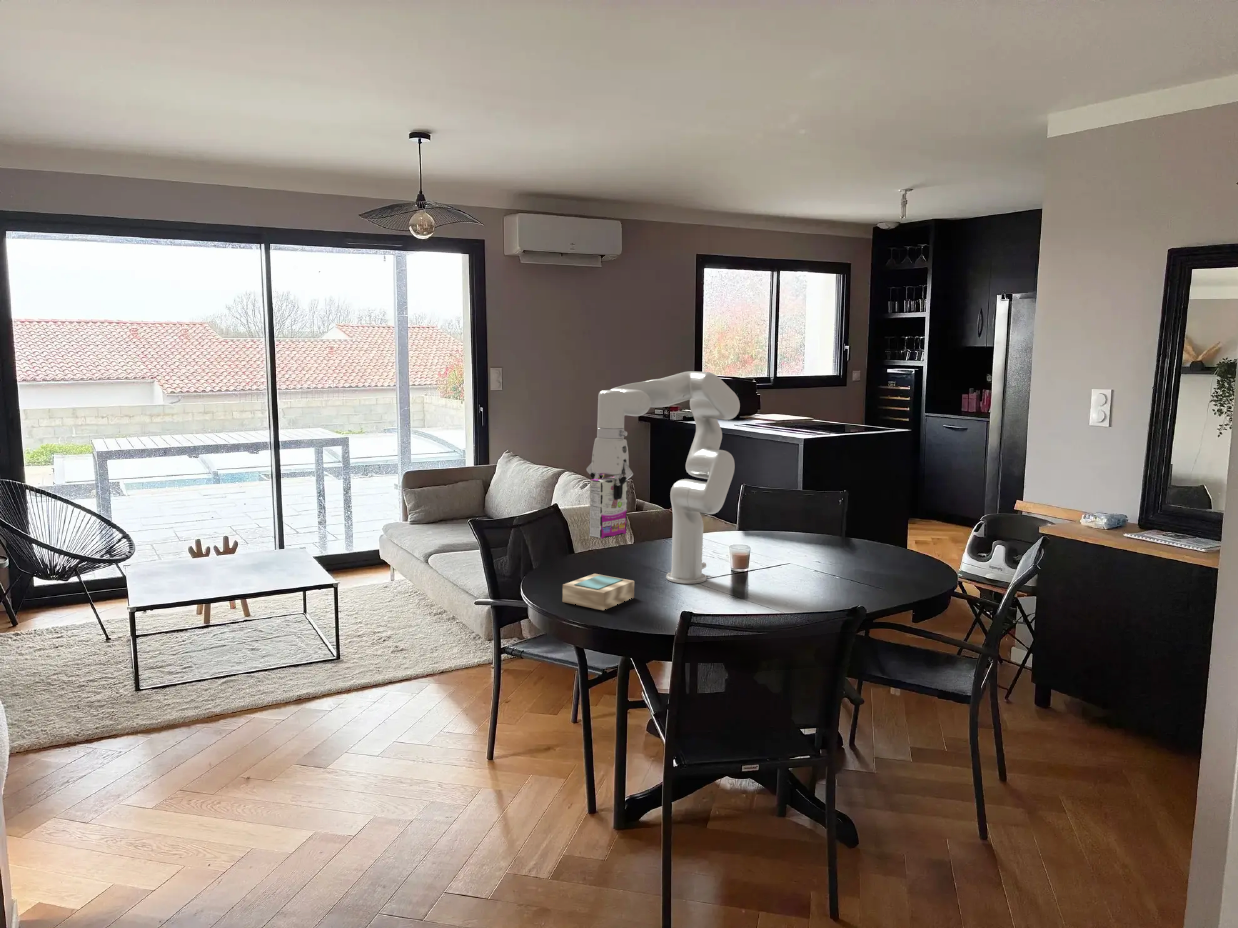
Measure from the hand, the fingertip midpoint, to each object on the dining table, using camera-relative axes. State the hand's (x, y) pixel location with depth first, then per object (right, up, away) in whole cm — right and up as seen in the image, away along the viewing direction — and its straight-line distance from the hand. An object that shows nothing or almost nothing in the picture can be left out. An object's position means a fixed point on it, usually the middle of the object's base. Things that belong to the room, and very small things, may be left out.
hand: (608, 497), depth 261 cm
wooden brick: (-3, -30, +3) cm, 30 cm away
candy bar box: (0, -11, +1) cm, 11 cm away
